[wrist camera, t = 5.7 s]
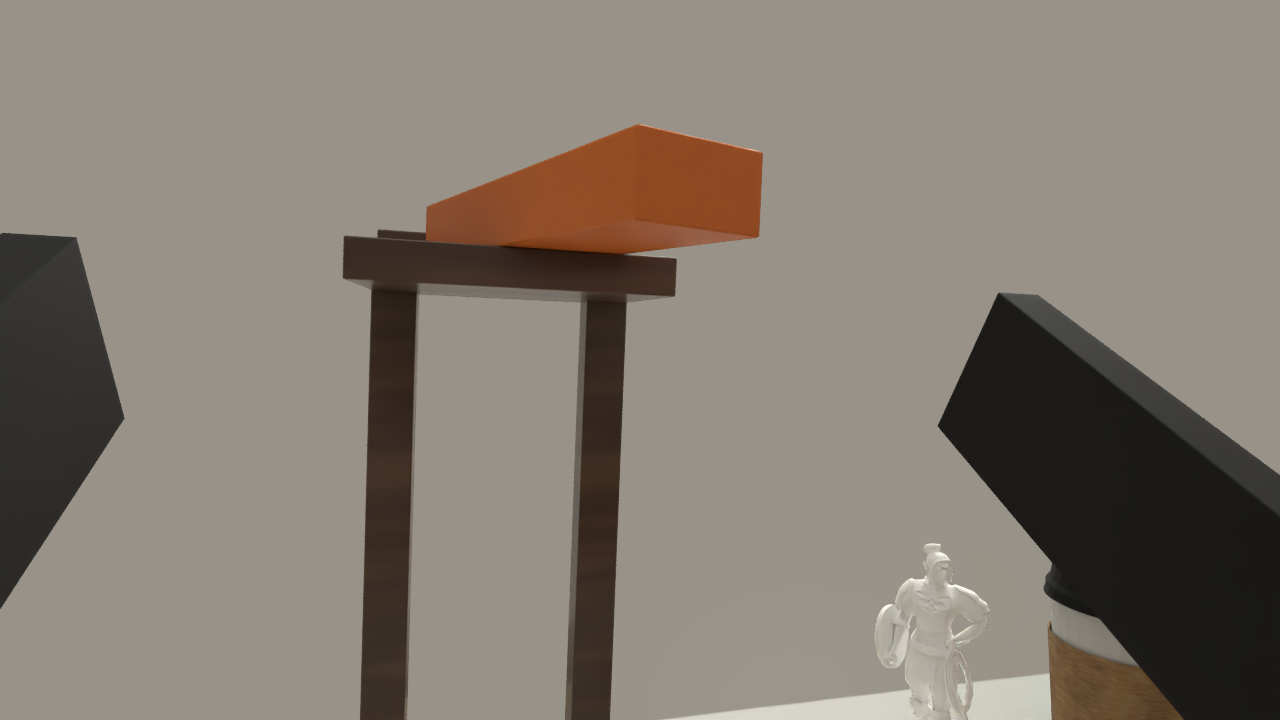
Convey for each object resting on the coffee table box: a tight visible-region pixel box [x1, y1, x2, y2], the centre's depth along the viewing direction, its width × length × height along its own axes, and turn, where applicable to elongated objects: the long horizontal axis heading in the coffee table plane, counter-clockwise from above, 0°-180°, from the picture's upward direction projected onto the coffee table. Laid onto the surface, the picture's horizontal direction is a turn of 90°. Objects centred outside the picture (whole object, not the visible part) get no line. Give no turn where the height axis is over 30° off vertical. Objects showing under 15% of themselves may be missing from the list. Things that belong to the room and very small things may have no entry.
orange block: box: [426, 124, 763, 254], centre depth 28 cm, size 18×4×2 cm, turn 33°
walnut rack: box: [343, 230, 677, 720], centre depth 33 cm, size 11×12×32 cm
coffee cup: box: [1044, 563, 1184, 720], centre depth 43 cm, size 8×8×15 cm
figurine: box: [875, 544, 990, 720], centre depth 45 cm, size 9×9×15 cm
